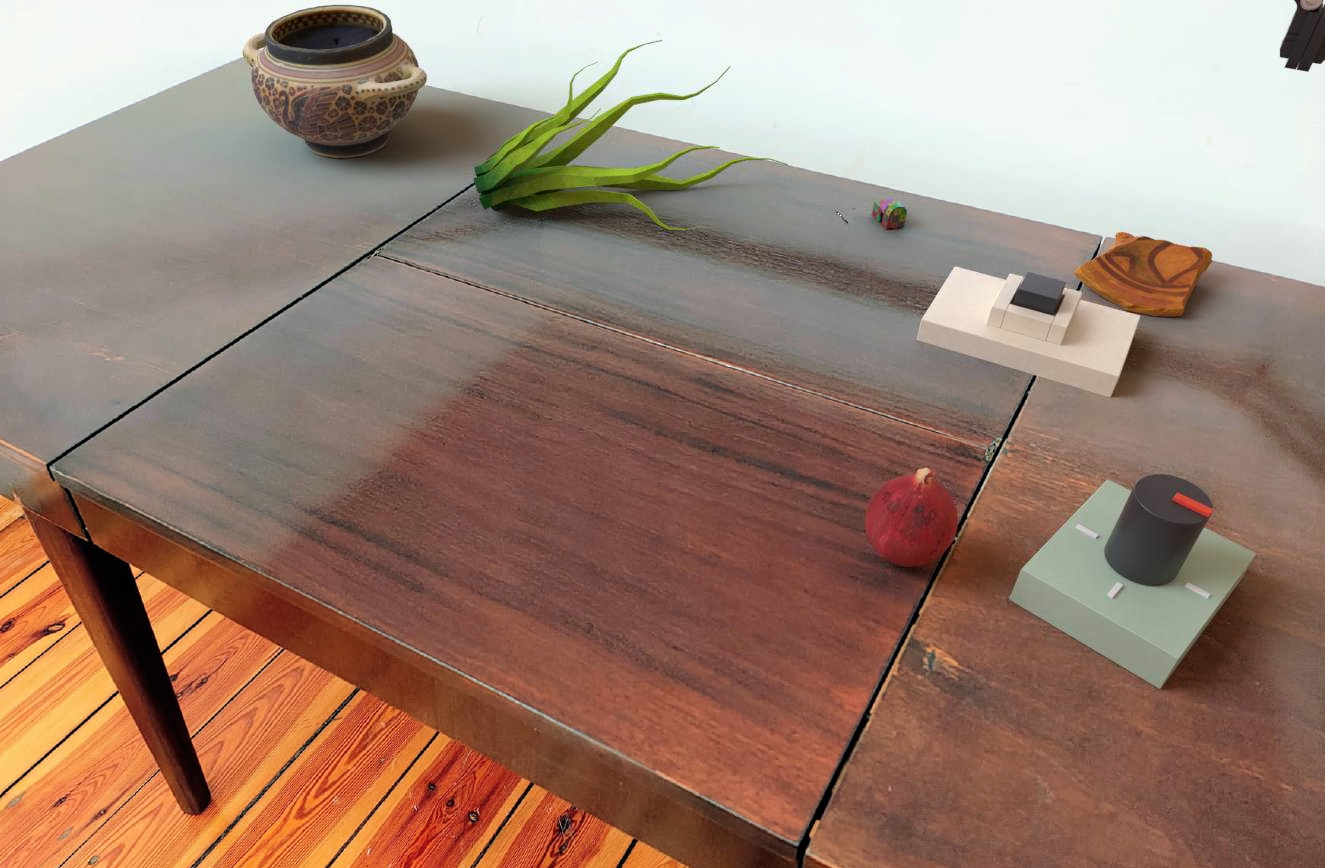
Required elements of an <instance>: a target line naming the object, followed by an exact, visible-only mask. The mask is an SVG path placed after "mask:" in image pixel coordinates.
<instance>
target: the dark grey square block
mask: <svg viewBox="0 0 1325 868" xmlns="http://www.w3.org/2000/svg"><path fill="white" fill-rule="evenodd" d="M1023 277H1024V279H1023V281H1022V283H1021V285H1020V287H1019V288H1018V291H1017V294H1016V297H1015V300H1014V304H1013V305H1016V306H1019V307H1023V308H1027V309H1030V310H1034V311H1038V312H1041V313H1045V314H1049V315H1052V316H1053V313H1054V311H1055V309H1056V307H1057V305H1058V303H1059V301H1060V298H1061V295H1062V293H1063V290H1064V288H1066V284H1067V281H1065V280H1061V279H1058V278H1054V277H1049V276H1045V275H1042V274H1039V273H1034V272H1030V271H1027V272H1026V274H1025V275H1024V276H1023Z"/></svg>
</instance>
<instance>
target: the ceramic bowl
mask: <svg viewBox="0 0 1325 868" xmlns="http://www.w3.org/2000/svg"><path fill="white" fill-rule="evenodd" d="M242 57H243V59H244V60H245V62H246V63H247V64H248V65H249V66H250V67H251V84H252V91H253V93H254V96H255V98H256V100H257V102H258V104H259V105H260V108H261V109H263V111H264V112H265V113H266V115H267V116H268V117H269V118H270V119H271V121H273V122H274V123H275V124H277V125H278V126H279V127H280V128H282V129H283V130H284V131H286V132H288V133H289V134H291V135H293V136H296V137H298V138H300V139H303V140H304V142H305V146H306V147H307V148H308V149H309V150H310V151H311V152H312V153H314V154H316V155H319V156H323V157H328V158H333V159H341V158H342V159H348V158H356V157H363V156H366V155H370V154H372V153H375V152H376V151H378V150H380V149H382V148H383V147H384V146H385V145H386V144H387V143H388V141H389V140H390V131H391V130H392V129H393V128H394V127H395V126H397V125H398V124H399V123H400V122H402V120H403V119H404V118H405V116H406V115H407V114H408V113H409V111H410V110H411V109H412V106H413V104H414V103H415V102H416V99H417V96H418V93H419V90H420V89H422V88H423V87H424V86H425V85H426V83H427V81H428V74H427V73H426V71H424V69H423V68H420V66H419V62H418V59H417V57H416V54H415V53H414V50H413V49H412V47H410V45H409V44H408V43H407V42H406V41H405V40H404V39H402V37H400V36H399V35H398V34H396V33H394V32H393V26H392V20H391V18H390V17H389V16H388V15H387V14H386V13H384V12H382V11H381V10H379V9H376V8H374V7H370V6H365V5H357V4H327V5H318V6H313V7H308V8H304V9H300V10H296V11H293V12H291V13H289V14H285V15H283V16H281V17H278V18H277V19H275V20H272V21H271V23H270V24H268V26H267V27H266V29H265V32H261V33H257V34H255V35H254V36H252V37H251V38H249V39H248V40H247V41H246V43H245V44H244V45H243V48H242Z"/></svg>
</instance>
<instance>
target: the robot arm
mask: <svg viewBox="0 0 1325 868" xmlns="http://www.w3.org/2000/svg"><path fill="white" fill-rule="evenodd" d="M1293 1H1294V3H1295V4H1296V8H1295V11H1294V13H1293V16H1292V17H1291V20H1290V22H1289V24H1288V27H1287V29H1286V30H1285V31H1286V32H1285V33H1284V36H1283V38H1282V41H1281V42H1280V45H1279V46H1280V47H1279V58H1281V59H1285V62H1284V66H1283V68H1284V69H1290V70H1295V71H1301V72H1306V73H1309V72H1310V69H1311V68H1312V66H1313V64H1317V65H1322V64H1323V63H1324V62H1325V3H1324V2H1325V1H1324V0H1293Z"/></svg>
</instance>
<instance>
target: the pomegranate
mask: <svg viewBox="0 0 1325 868" xmlns="http://www.w3.org/2000/svg"><path fill="white" fill-rule="evenodd" d="M935 476H936V473H935V472H934V470H932V469H931V468H930V467H928V466H926V467H924V468H919V469H917V470H916V473H915V474H904V475H901V476H897V477H893V478H891V479H889V480H888V481H886V482H885V483H883V484H882V485H881V486H880V487H879V488H878V489H876V491H874V493H873V495H872V496H871V497H870V499H869V501H868V504H867V507H866V510H865V515H864V529H865V533H866V536H867V539H868V541H869V543H870V545H871V547H872V548H873V549H874V550H875V552H876V553H877V554H878V556H880V557H881V558H882V559H885V560H886V561H888V562H890V563H891V564H892V565H893V564H894V565H897V566H900V567H905V568H909V567H922V566H924V565H926V564H928V563H931V562H932V561H935V560H936V559H938V558H941V557H942V556H943V555H944V553H945V552H946V551H947V550H948V549H949V548H950V546H951V545H952V543H953V542H954V541H955V539H956V535H957V533H958V523H959V521H958V519H959V515H958V509H957V506H956V503H955V500H954V499H953V496H952V494H951V493H950V491H949V490H948V489H947V488H946V487H945V486H944V485H943V484H942V483H941V482H940V481H938V480H936V479H935Z"/></svg>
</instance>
